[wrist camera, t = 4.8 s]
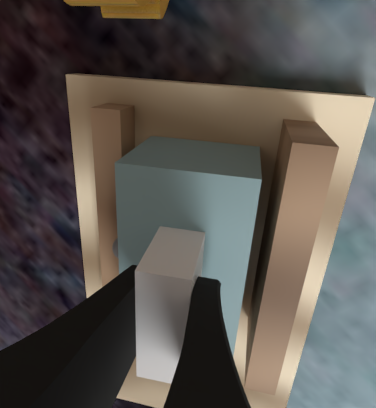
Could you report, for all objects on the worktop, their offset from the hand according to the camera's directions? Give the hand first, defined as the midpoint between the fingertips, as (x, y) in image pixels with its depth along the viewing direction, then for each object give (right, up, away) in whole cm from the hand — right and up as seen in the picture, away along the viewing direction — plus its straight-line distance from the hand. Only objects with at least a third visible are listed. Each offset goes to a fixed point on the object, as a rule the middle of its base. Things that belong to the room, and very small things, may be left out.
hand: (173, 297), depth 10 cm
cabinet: (+1, +2, +5) cm, 5 cm away
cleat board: (+1, -1, +7) cm, 7 cm away
